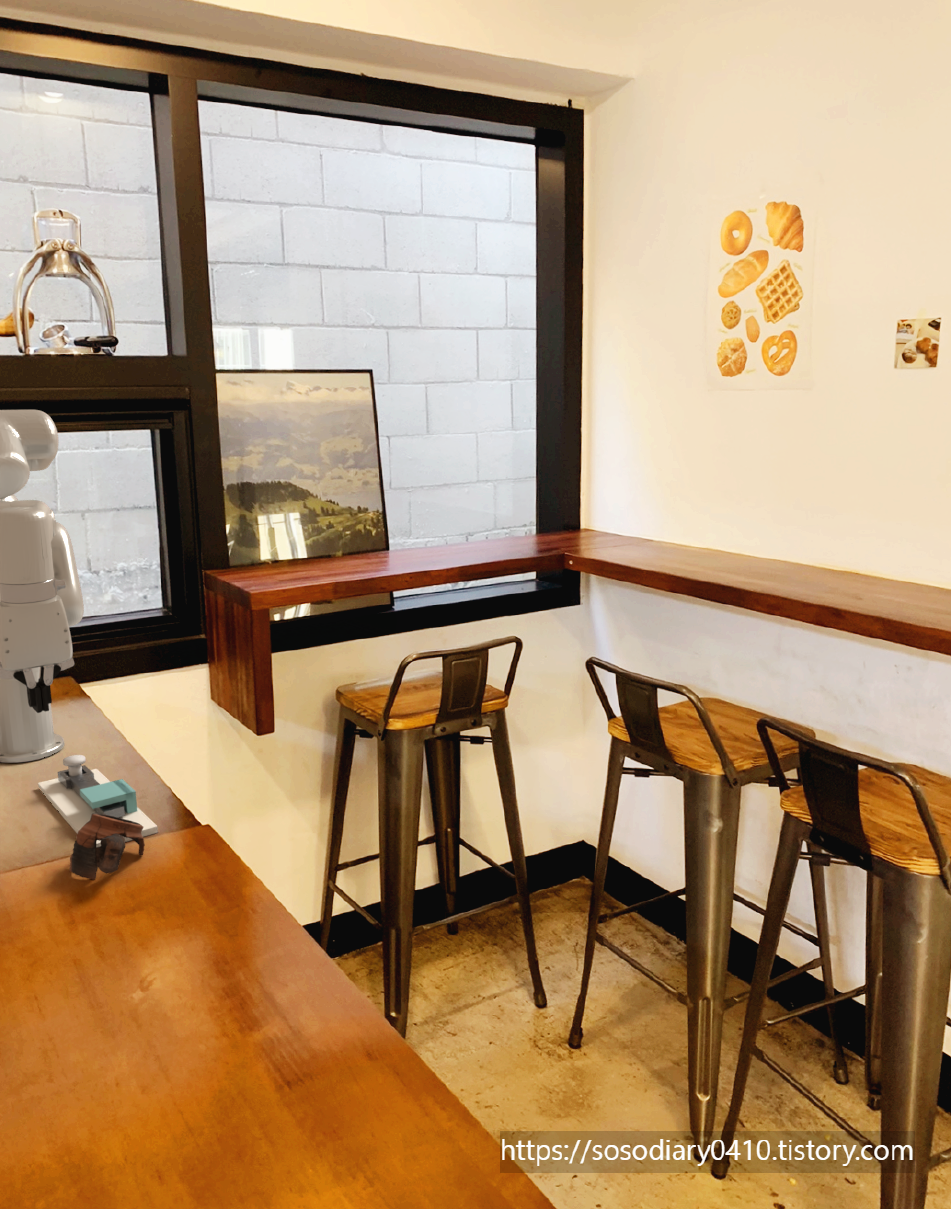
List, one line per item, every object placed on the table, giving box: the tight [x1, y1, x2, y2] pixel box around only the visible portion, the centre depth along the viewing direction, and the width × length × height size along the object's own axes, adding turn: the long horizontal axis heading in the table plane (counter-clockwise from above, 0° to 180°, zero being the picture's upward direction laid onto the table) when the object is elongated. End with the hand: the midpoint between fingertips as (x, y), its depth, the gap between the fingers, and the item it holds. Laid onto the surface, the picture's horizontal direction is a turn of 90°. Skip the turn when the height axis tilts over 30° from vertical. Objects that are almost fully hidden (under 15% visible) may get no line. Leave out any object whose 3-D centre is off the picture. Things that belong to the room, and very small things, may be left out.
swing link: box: [57, 765, 125, 817], centre depth 150 cm, size 20×4×2 cm, turn 40°
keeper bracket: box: [80, 778, 138, 814], centre depth 146 cm, size 6×6×3 cm
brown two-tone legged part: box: [69, 813, 146, 881], centre depth 131 cm, size 12×10×8 cm
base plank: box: [37, 754, 159, 847], centre depth 148 cm, size 28×10×5 cm, turn 39°
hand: (40, 709), depth 144 cm, fingers closed
